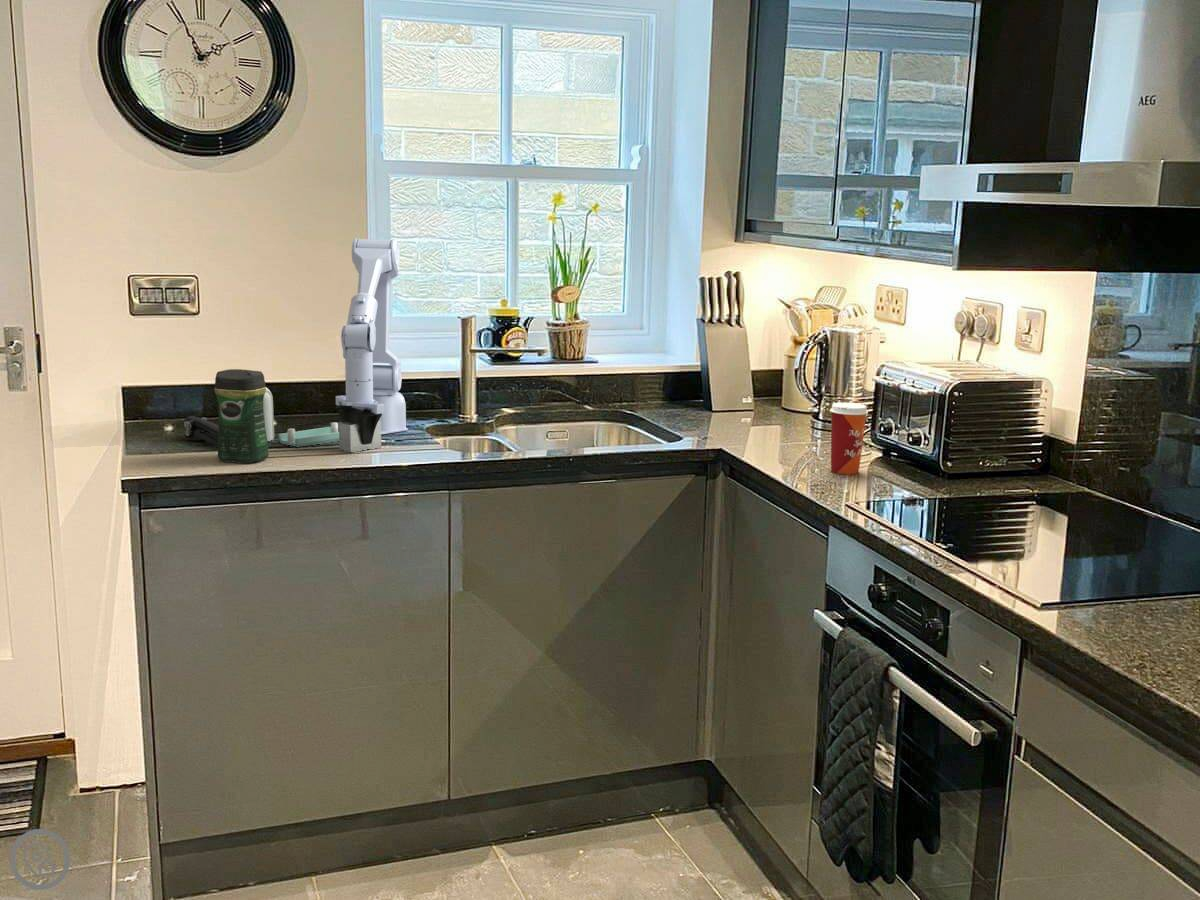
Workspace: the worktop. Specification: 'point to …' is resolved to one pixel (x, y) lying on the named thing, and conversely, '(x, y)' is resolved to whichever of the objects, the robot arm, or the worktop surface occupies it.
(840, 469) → the paper cup
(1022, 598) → the worktop surface
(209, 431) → the can opener
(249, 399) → the coffee jar
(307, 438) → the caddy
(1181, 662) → the worktop surface
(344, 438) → the light grey rectangular block
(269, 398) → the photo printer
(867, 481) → the worktop surface
